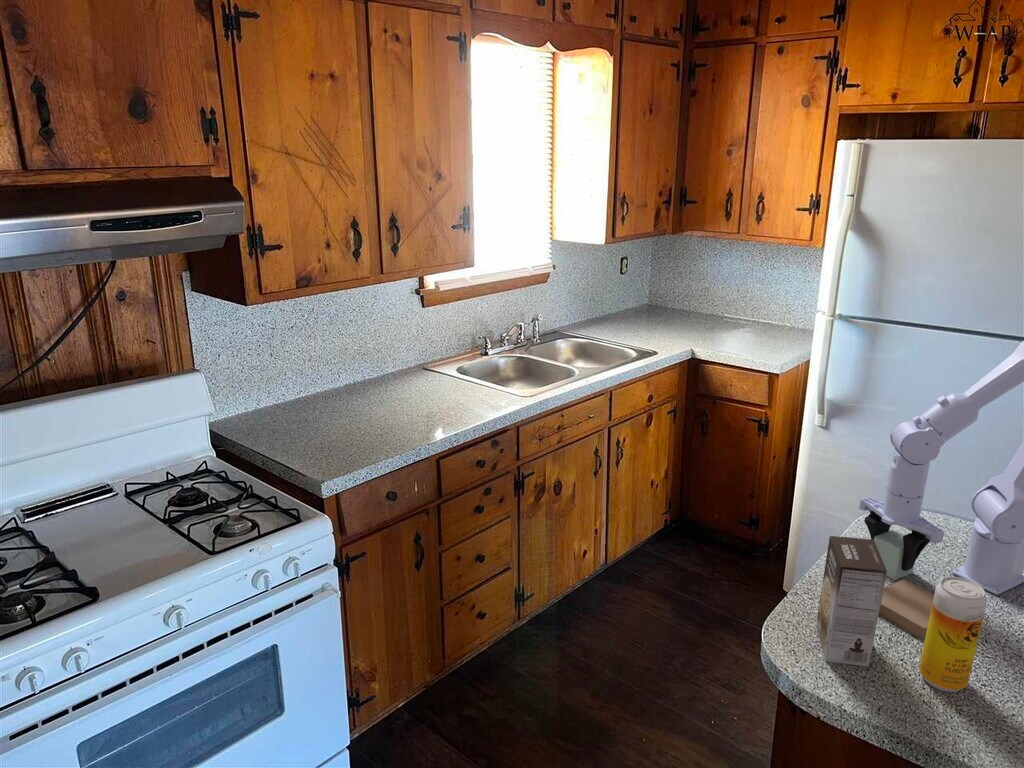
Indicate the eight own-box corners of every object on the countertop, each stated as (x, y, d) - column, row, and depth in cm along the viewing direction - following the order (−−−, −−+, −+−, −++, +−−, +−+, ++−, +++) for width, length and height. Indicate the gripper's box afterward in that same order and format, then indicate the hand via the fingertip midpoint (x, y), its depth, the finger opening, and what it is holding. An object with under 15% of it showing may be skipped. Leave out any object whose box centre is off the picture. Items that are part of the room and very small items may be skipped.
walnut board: (901, 592, 130) (904, 579, 129) (959, 623, 122) (962, 609, 121) (863, 609, 125) (866, 595, 125) (921, 642, 117) (924, 628, 116)
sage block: (887, 559, 139) (892, 529, 137) (912, 572, 135) (918, 542, 133) (869, 566, 137) (874, 536, 135) (894, 580, 133) (900, 549, 131)
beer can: (946, 699, 105) (967, 604, 100) (908, 672, 110) (927, 580, 105) (977, 687, 107) (999, 594, 102) (938, 661, 112) (957, 571, 108)
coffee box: (814, 625, 120) (828, 533, 115) (857, 630, 119) (873, 538, 114) (824, 662, 112) (840, 565, 107) (871, 668, 110) (889, 570, 106)
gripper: (853, 480, 135) (842, 548, 140) (931, 513, 123) (916, 587, 128) (878, 472, 139) (867, 539, 143) (957, 504, 127) (942, 576, 131)
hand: (892, 561), depth 135 cm, fingers closed on sage block, 5 cm apart
